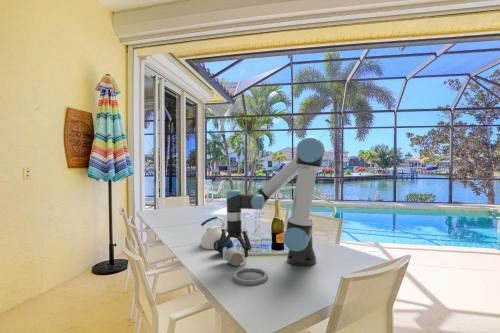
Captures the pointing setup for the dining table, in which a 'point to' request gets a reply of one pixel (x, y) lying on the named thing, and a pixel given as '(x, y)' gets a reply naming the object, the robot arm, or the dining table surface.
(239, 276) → the ring coaster
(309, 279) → the dining table surface
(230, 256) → the ceramic mug
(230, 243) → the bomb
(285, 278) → the dining table surface
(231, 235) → the robot arm
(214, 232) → the kettle
